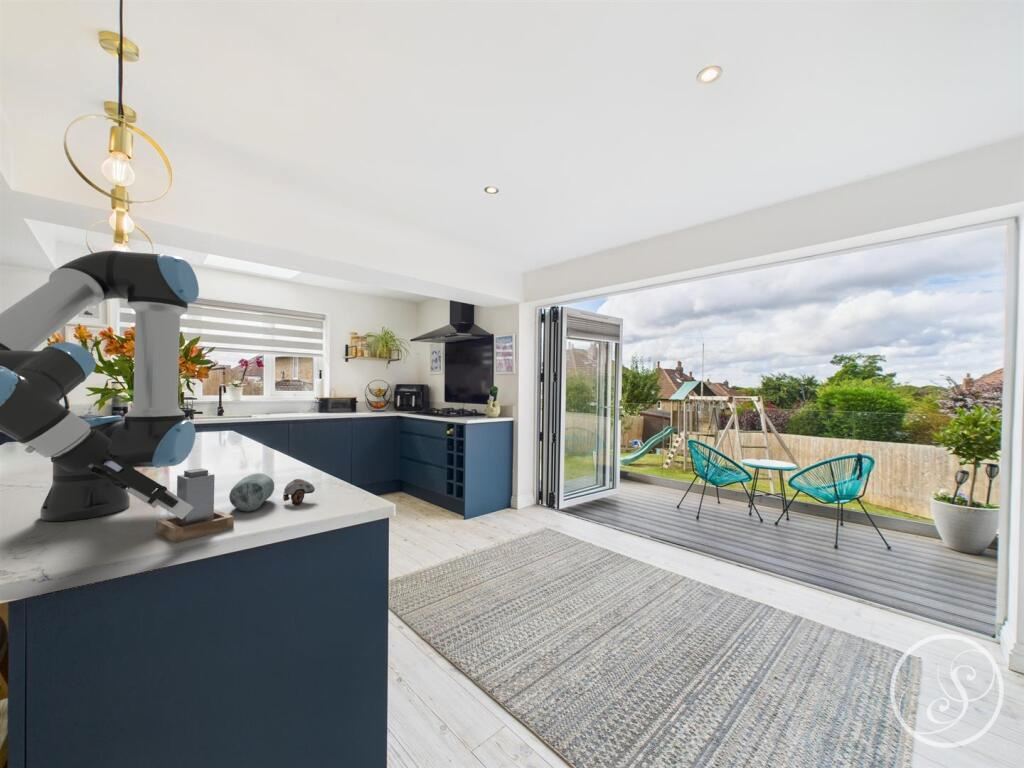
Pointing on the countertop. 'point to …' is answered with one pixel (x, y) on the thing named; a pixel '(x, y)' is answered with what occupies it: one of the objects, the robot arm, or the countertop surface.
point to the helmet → (297, 490)
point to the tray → (194, 527)
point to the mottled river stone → (251, 492)
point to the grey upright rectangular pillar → (196, 496)
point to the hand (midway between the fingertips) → (173, 507)
